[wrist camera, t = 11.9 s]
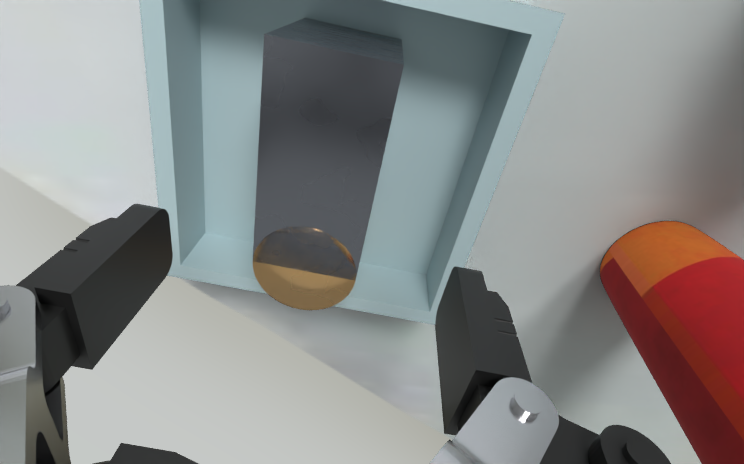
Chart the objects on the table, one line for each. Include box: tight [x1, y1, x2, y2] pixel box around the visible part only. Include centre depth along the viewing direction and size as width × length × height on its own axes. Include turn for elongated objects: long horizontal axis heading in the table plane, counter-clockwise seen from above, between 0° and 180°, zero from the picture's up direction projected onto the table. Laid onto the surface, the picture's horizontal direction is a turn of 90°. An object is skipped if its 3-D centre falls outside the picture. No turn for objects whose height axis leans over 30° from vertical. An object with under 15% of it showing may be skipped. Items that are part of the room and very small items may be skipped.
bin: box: [139, 0, 565, 325], centre depth 18 cm, size 14×14×4 cm
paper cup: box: [600, 221, 744, 464], centre depth 17 cm, size 8×8×14 cm
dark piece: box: [253, 18, 404, 310], centre depth 17 cm, size 4×10×6 cm, turn 169°
